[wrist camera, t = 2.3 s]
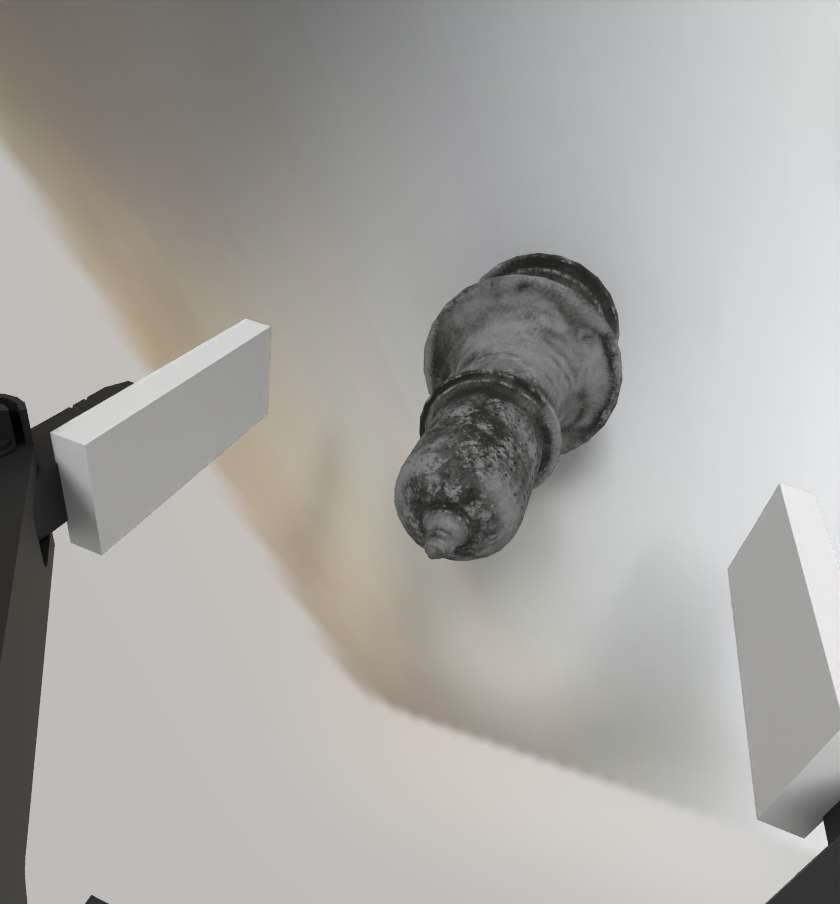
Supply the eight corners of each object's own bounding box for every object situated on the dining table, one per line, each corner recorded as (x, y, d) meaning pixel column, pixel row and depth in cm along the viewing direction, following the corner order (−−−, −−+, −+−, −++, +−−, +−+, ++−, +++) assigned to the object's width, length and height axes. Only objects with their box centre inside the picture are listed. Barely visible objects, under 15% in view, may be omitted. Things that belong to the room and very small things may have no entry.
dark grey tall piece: (667, 302, 20) (665, 540, 10) (567, 437, 23) (494, 709, 14) (504, 208, 20) (348, 355, 10) (428, 356, 23) (258, 569, 14)
